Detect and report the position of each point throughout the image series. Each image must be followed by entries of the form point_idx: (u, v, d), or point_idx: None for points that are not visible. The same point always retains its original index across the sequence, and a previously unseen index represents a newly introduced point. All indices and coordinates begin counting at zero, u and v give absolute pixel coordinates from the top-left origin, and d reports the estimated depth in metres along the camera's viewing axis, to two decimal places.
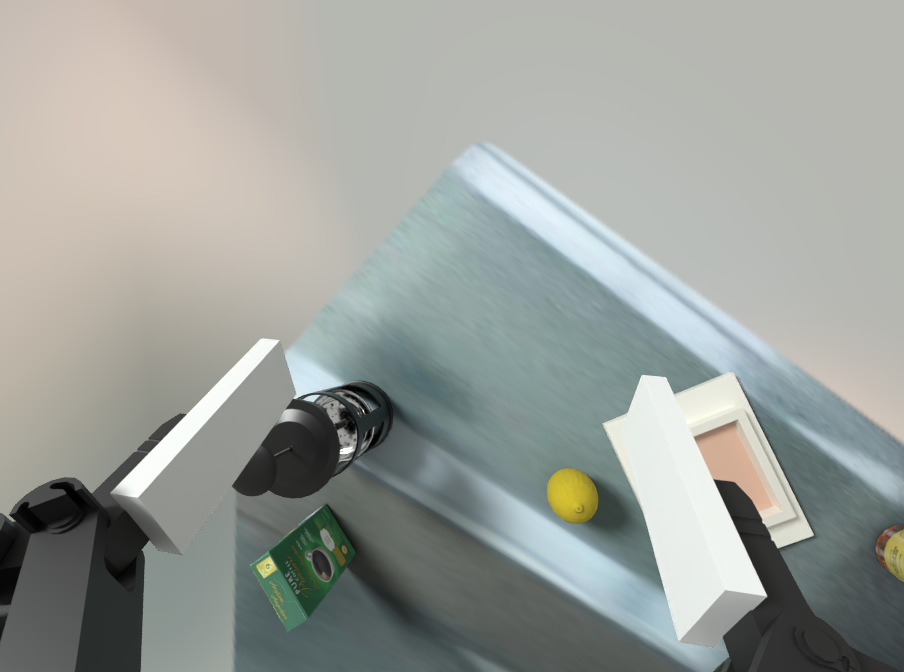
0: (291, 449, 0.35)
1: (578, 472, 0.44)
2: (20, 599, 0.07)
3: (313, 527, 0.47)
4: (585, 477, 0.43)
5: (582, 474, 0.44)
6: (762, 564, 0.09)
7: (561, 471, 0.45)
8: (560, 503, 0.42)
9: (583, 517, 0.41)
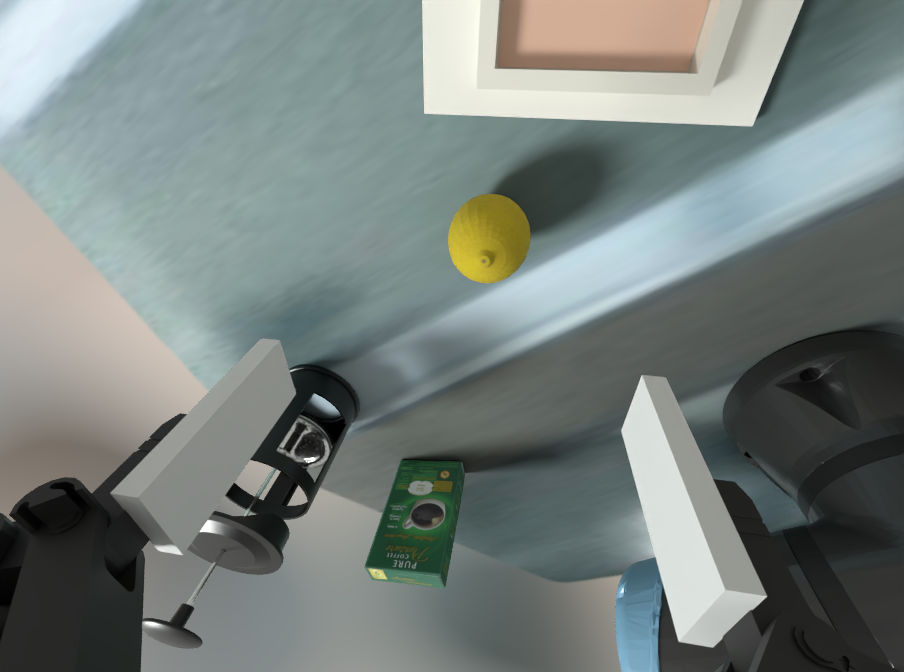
0: (222, 550, 0.30)
1: (458, 212, 0.25)
2: (20, 599, 0.07)
3: (399, 494, 0.43)
4: (466, 208, 0.25)
5: (462, 208, 0.25)
6: (762, 564, 0.09)
7: None
8: (471, 275, 0.25)
9: (505, 257, 0.23)
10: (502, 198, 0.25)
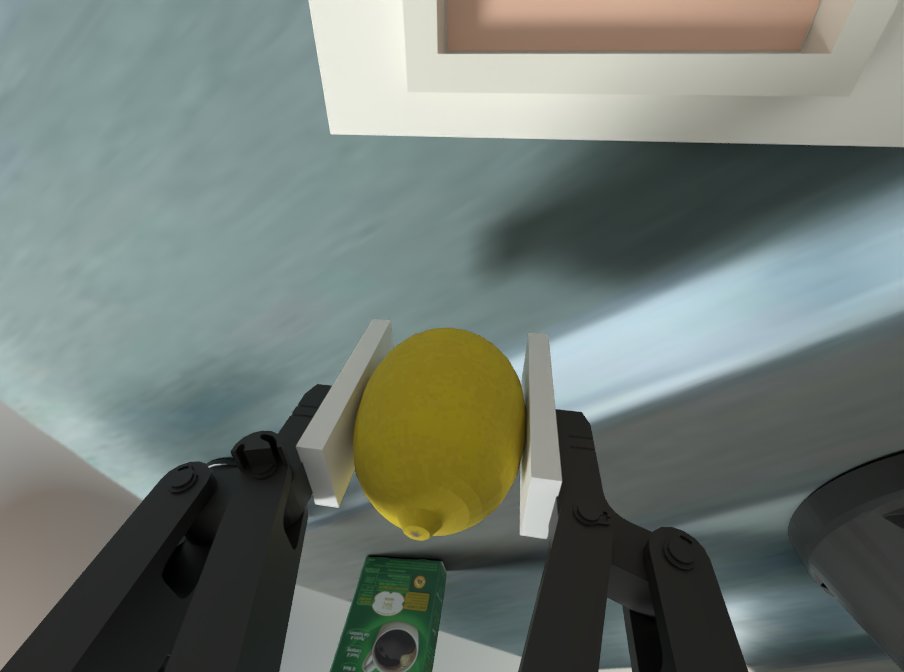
0: None
1: (372, 380, 0.12)
2: (223, 530, 0.09)
3: (361, 614, 0.34)
4: (383, 383, 0.11)
5: (379, 376, 0.12)
6: (579, 467, 0.11)
7: None
8: None
9: (467, 515, 0.10)
10: (463, 357, 0.11)
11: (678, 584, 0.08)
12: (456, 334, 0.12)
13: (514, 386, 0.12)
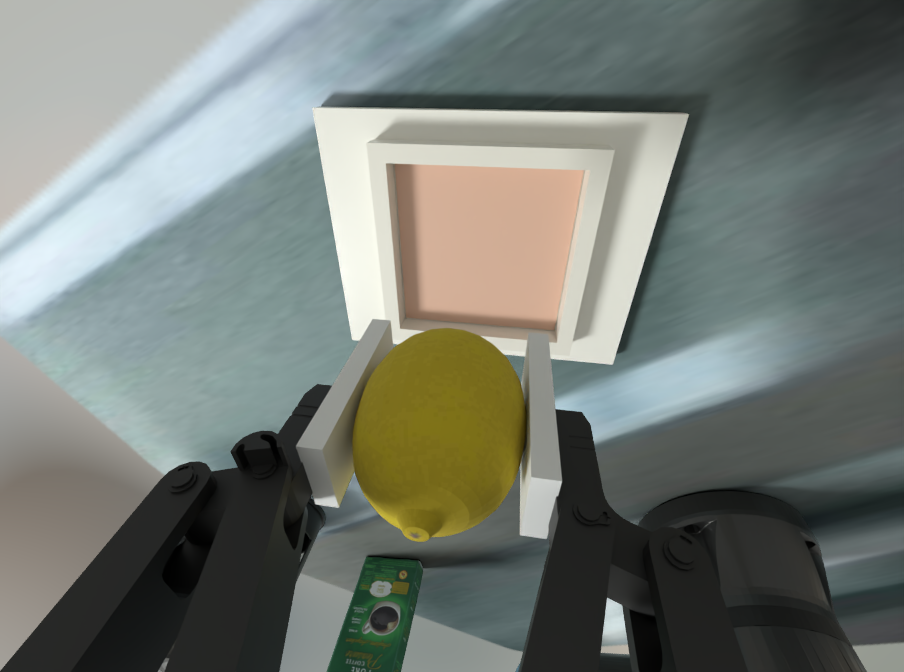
0: None
1: (371, 380, 0.12)
2: (223, 530, 0.09)
3: (361, 596, 0.49)
4: (382, 384, 0.11)
5: (379, 377, 0.12)
6: (579, 467, 0.11)
7: None
8: None
9: (467, 516, 0.10)
10: (463, 357, 0.11)
11: (678, 584, 0.08)
12: (456, 334, 0.12)
13: (514, 386, 0.12)
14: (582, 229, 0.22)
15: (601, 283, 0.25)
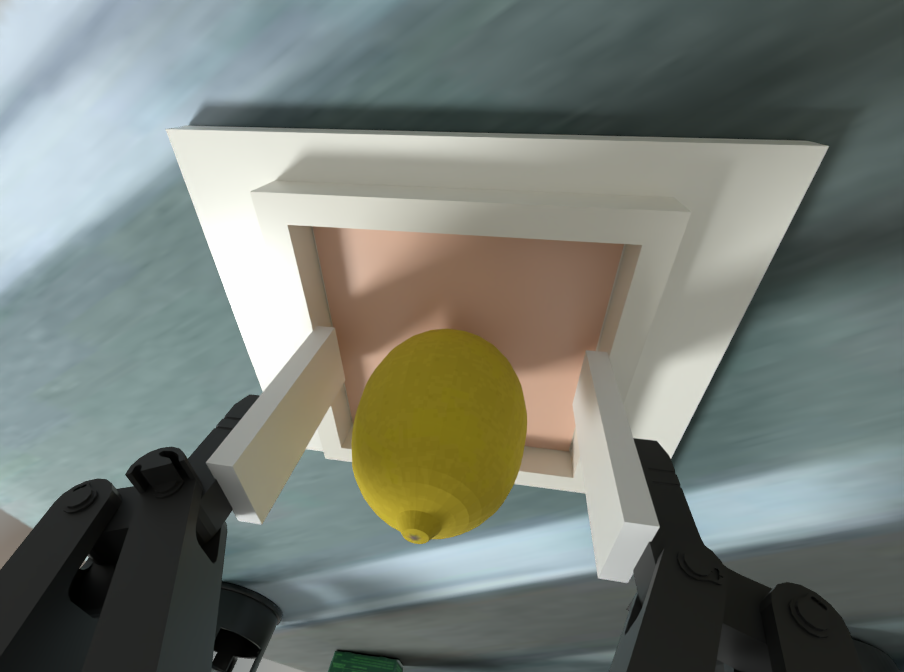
0: None
1: (371, 381, 0.12)
2: (126, 555, 0.08)
3: None
4: (382, 384, 0.11)
5: (378, 377, 0.12)
6: (667, 506, 0.10)
7: None
8: None
9: (467, 517, 0.10)
10: (463, 357, 0.11)
11: (807, 650, 0.07)
12: (456, 335, 0.12)
13: (514, 387, 0.12)
14: (622, 334, 0.13)
15: (643, 396, 0.16)
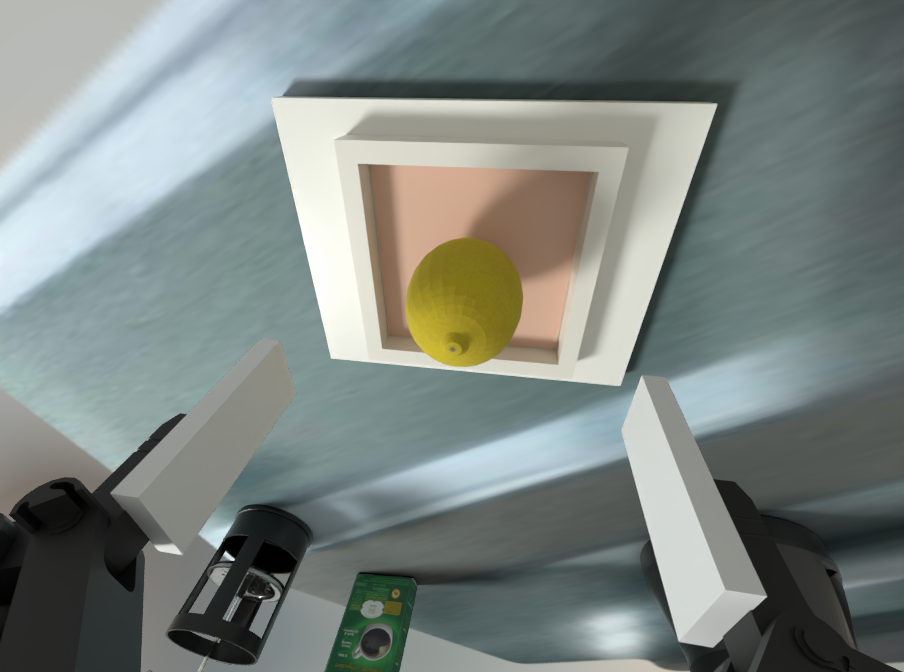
0: None
1: (418, 267, 0.18)
2: (20, 599, 0.07)
3: (352, 616, 0.47)
4: (427, 265, 0.17)
5: (423, 263, 0.17)
6: (762, 564, 0.09)
7: None
8: (438, 361, 0.17)
9: (485, 340, 0.16)
10: (480, 248, 0.17)
11: None
12: None
13: (514, 270, 0.18)
14: (588, 240, 0.19)
15: (609, 298, 0.22)
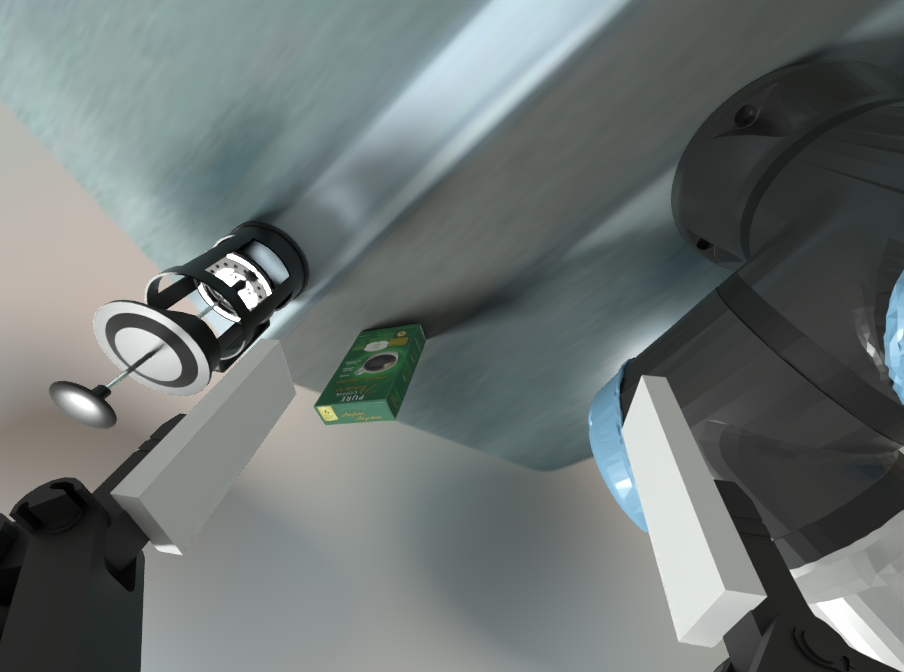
0: (147, 354, 0.29)
1: None
2: (20, 599, 0.07)
3: (355, 354, 0.42)
4: None
5: None
6: (762, 564, 0.09)
7: None
8: None
9: None
10: None
11: None
12: None
13: None
14: None
15: None
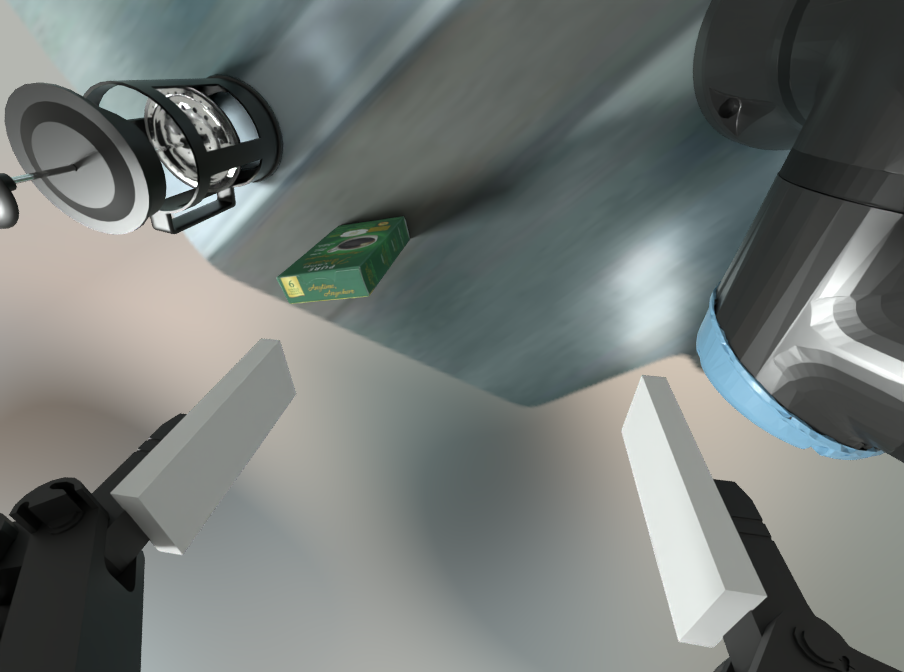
0: (71, 164, 0.24)
1: None
2: (20, 599, 0.07)
3: (329, 239, 0.38)
4: None
5: None
6: (762, 564, 0.09)
7: None
8: None
9: None
10: None
11: None
12: None
13: None
14: None
15: None
